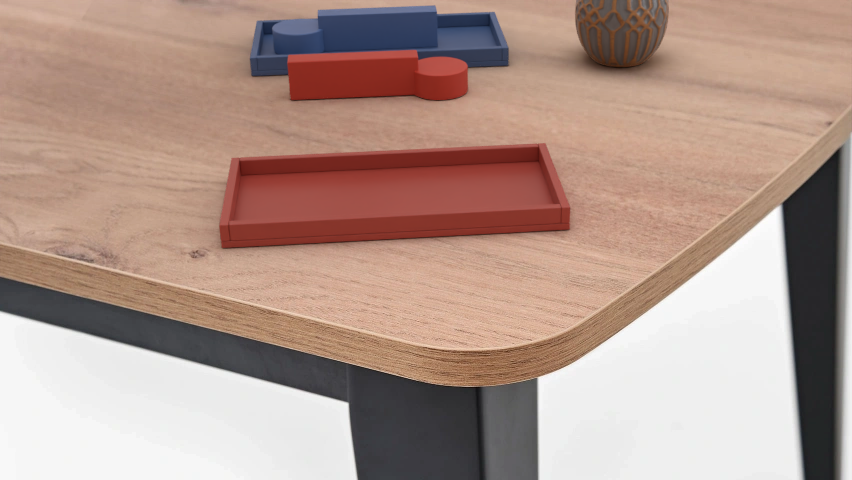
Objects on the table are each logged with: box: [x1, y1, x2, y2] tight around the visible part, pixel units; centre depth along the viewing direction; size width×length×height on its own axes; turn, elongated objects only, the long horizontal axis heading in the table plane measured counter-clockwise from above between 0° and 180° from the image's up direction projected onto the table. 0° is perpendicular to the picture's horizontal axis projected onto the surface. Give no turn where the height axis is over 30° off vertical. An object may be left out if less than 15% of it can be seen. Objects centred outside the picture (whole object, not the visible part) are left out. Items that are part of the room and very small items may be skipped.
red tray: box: [218, 142, 571, 249], centre depth 70 cm, size 19×9×1 cm, turn 96°
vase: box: [574, 0, 670, 68], centre depth 90 cm, size 7×7×9 cm
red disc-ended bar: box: [287, 50, 469, 101], centre depth 85 cm, size 12×4×3 cm, turn 96°
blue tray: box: [249, 11, 510, 77], centre depth 93 cm, size 19×9×1 cm, turn 96°
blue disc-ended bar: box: [272, 4, 438, 55], centre depth 93 cm, size 12×4×3 cm, turn 96°
